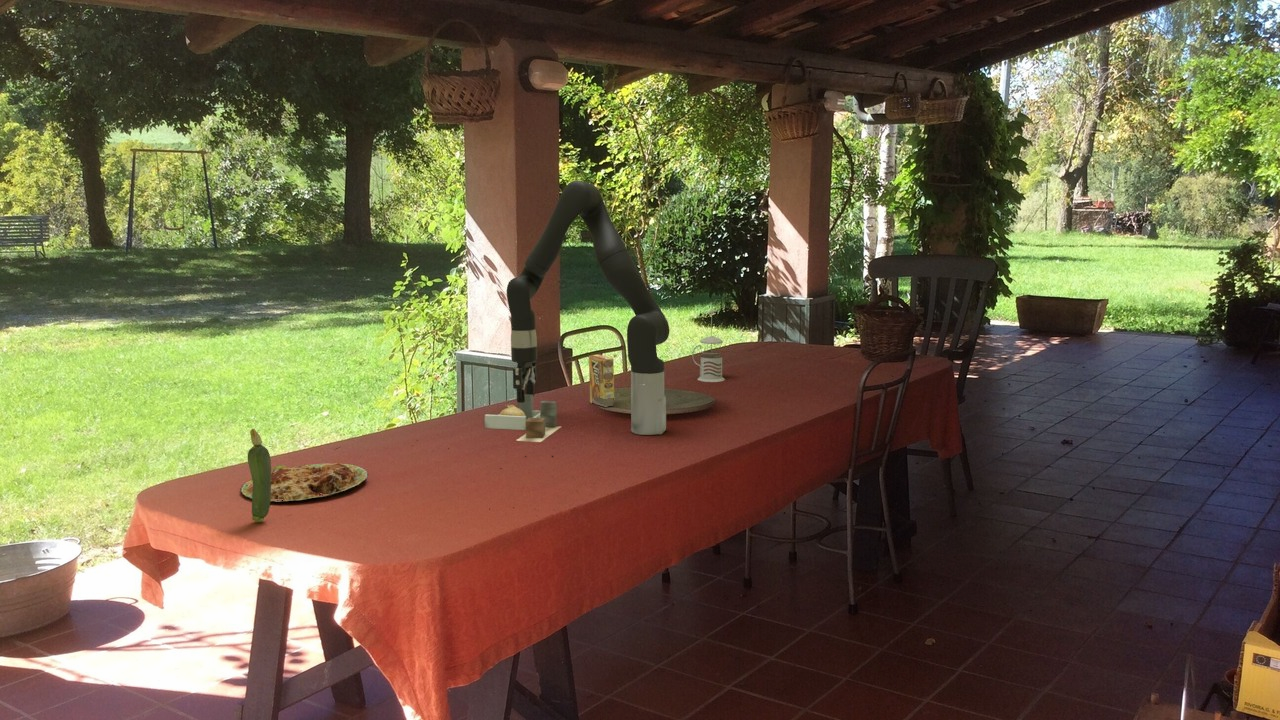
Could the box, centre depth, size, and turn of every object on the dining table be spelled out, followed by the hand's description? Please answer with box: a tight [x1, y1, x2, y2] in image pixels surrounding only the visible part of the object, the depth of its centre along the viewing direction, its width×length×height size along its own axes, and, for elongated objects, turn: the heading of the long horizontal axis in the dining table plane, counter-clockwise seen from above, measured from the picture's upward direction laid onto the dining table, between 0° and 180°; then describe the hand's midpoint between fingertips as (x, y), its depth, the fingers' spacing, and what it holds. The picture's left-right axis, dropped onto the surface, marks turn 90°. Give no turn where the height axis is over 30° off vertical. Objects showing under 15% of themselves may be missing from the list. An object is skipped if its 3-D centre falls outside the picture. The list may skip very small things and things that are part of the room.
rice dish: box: [240, 462, 369, 503], centre depth 234 cm, size 28×28×5 cm
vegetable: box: [247, 428, 272, 523], centre depth 207 cm, size 4×4×20 cm
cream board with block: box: [515, 400, 562, 443], centre depth 278 cm, size 7×19×8 cm, turn 167°
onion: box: [499, 404, 525, 416], centre depth 288 cm, size 8×8×7 cm
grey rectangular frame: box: [484, 393, 541, 431], centre depth 292 cm, size 12×19×7 cm, turn 167°
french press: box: [691, 309, 726, 383], centre depth 360 cm, size 10×12×25 cm
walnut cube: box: [525, 418, 545, 438], centre depth 275 cm, size 4×4×4 cm
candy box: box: [588, 354, 615, 404], centre depth 319 cm, size 9×4×15 cm, turn 33°
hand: (525, 399), depth 299 cm, fingers open, 8 cm apart
